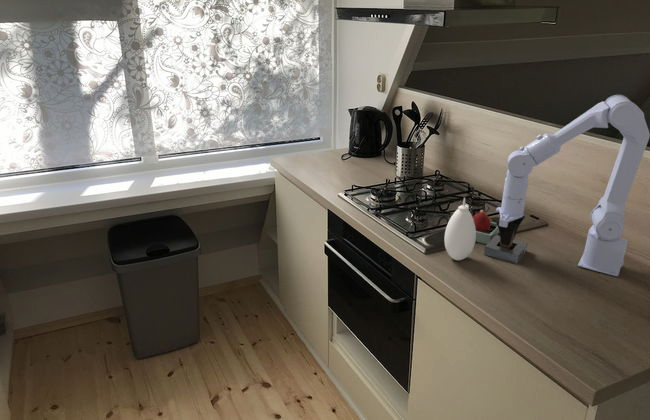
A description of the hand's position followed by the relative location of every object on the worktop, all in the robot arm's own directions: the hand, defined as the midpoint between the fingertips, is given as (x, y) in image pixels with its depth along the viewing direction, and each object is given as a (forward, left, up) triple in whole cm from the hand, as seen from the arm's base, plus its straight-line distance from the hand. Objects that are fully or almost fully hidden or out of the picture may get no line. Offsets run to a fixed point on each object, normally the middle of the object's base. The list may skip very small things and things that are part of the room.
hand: (507, 241), depth 141 cm
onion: (+10, -7, -4) cm, 13 cm away
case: (+10, -7, -3) cm, 13 cm away
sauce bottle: (+10, +11, -4) cm, 15 cm away
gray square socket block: (0, 0, -3) cm, 3 cm away
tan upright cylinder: (0, 0, -2) cm, 2 cm away
